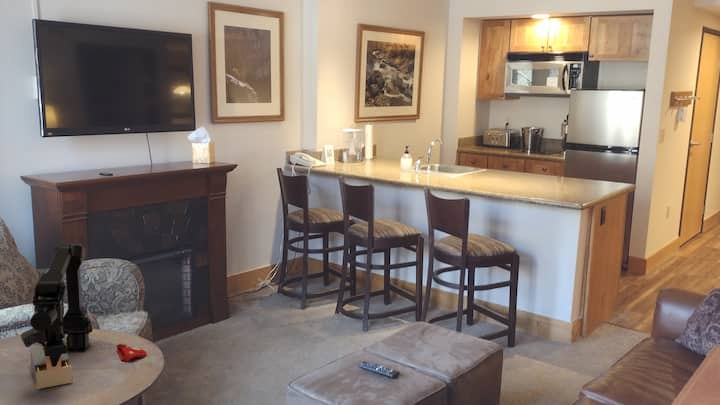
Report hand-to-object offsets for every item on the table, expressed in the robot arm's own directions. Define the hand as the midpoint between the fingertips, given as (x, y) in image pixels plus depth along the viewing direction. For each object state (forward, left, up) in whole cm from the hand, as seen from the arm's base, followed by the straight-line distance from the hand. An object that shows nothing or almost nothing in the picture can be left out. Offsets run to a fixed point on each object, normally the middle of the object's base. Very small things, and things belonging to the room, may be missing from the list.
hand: (53, 365), depth 190 cm
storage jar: (+17, -36, -7) cm, 41 cm away
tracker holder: (-15, -25, -8) cm, 30 cm away
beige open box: (+3, -6, -6) cm, 9 cm away
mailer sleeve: (+6, -11, -7) cm, 15 cm away
